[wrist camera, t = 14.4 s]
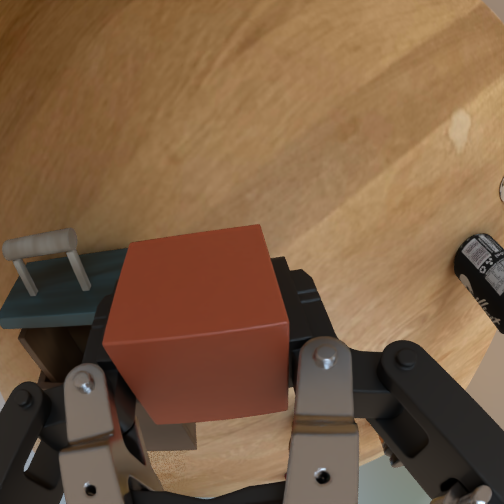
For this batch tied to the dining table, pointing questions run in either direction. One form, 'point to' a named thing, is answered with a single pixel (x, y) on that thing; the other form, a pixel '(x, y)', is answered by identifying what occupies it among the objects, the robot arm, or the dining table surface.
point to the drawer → (57, 297)
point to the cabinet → (152, 428)
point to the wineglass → (502, 190)
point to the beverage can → (483, 274)
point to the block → (201, 327)
